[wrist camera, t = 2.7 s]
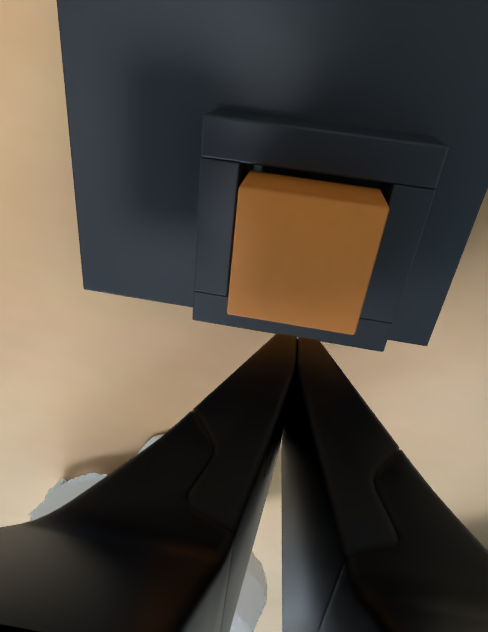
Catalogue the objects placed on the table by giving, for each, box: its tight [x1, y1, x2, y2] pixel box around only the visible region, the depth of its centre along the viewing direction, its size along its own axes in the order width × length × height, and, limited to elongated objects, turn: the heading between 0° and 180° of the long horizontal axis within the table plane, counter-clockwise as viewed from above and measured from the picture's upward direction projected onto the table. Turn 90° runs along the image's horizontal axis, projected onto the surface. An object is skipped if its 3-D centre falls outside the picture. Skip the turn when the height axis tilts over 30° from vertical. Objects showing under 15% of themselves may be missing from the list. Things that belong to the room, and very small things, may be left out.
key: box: [227, 171, 389, 335], centre depth 13 cm, size 4×4×2 cm
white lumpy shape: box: [28, 434, 267, 632], centre depth 24 cm, size 9×8×15 cm
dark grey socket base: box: [57, 0, 488, 352], centre depth 15 cm, size 14×11×4 cm
